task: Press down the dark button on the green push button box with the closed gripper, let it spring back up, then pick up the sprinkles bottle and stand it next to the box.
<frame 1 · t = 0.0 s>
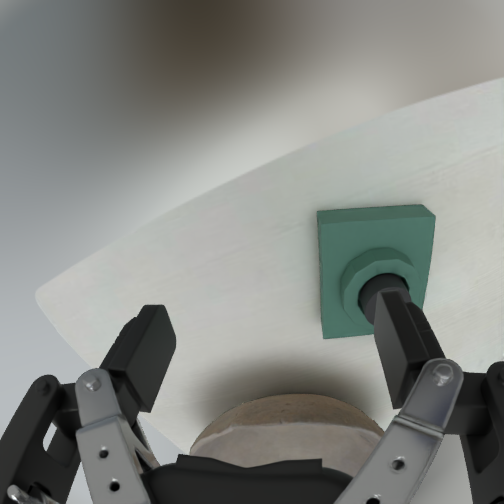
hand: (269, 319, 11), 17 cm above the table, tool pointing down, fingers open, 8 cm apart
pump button: (385, 300, 23), point 6 cm above the table, slide at 0.1 cm
bowl: (291, 414, 40), on the table
green push button box: (370, 266, 28), on the table
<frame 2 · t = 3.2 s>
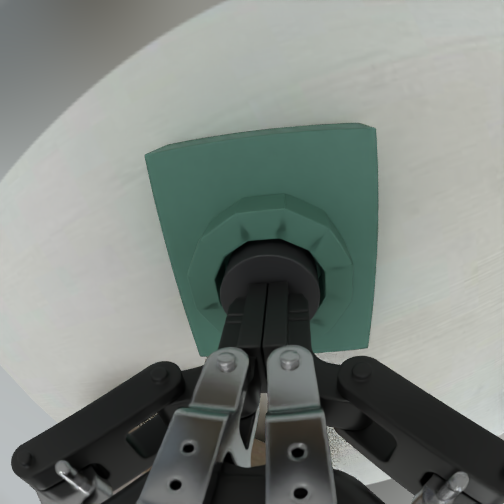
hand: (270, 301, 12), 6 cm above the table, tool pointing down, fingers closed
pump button: (270, 285, 13), point 5 cm above the table, slide at -0.8 cm, touching gripper
bowl: (212, 444, 29), on the table
green push button box: (274, 238, 17), on the table
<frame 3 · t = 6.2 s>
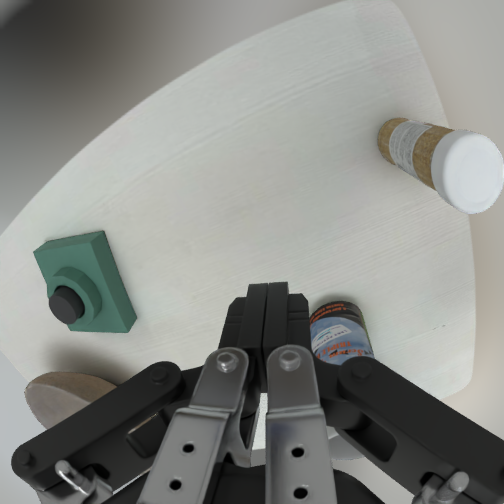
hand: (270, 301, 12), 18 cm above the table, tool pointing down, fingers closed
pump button: (66, 305, 30), point 6 cm above the table, slide at 0.1 cm
bowl: (110, 396, 47), on the table
green push button box: (89, 279, 35), on the table
mug: (349, 382, 39), on the table
beverage can: (336, 318, 34), on the table
sprinkles bottle: (398, 140, 25), on the table
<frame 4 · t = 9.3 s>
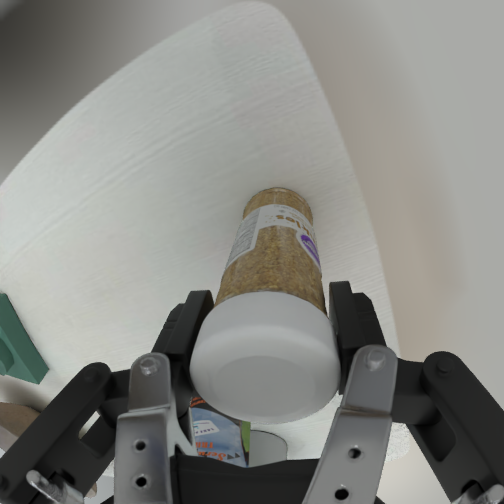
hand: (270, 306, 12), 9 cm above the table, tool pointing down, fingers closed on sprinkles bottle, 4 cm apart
bowl: (50, 423, 42), on the table
green push button box: (7, 331, 30), on the table
mug: (259, 449, 35), on the table
beverage can: (226, 399, 30), on the table
sprinkles bottle: (276, 218, 20), on the table, touching gripper
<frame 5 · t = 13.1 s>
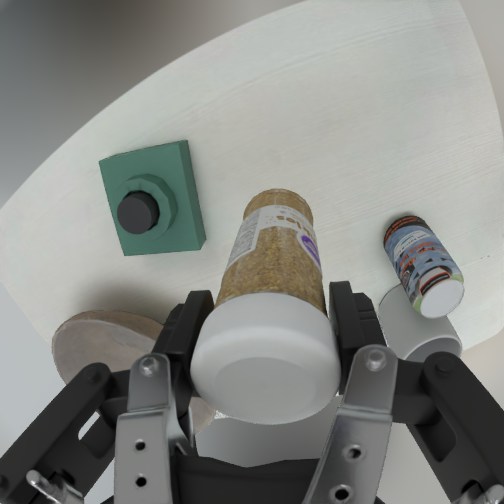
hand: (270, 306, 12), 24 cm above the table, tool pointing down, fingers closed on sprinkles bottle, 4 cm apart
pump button: (137, 212, 30), point 6 cm above the table, slide at 0.1 cm
bowl: (148, 346, 47), on the table
green push button box: (157, 196, 35), on the table
mug: (407, 314, 40), on the table
beverage can: (404, 238, 35), on the table
sprinkles bottle: (277, 218, 20), point 14 cm above the table, touching gripper
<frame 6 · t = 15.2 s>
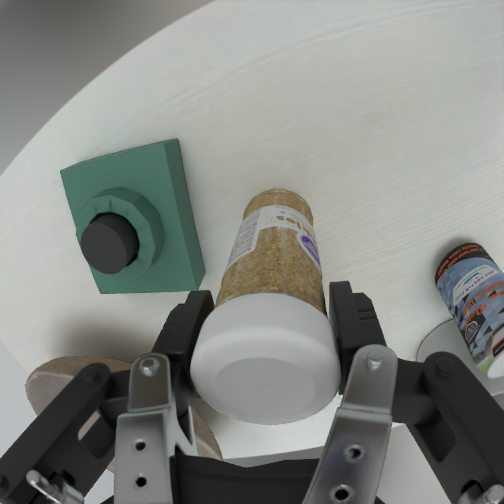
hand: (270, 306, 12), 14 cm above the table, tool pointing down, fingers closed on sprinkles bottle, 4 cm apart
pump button: (109, 243, 21), point 6 cm above the table, slide at 0.1 cm
bowl: (139, 388, 38), on the table
green push button box: (139, 216, 26), on the table
mug: (447, 353, 30), on the table
beverage can: (456, 269, 26), on the table
sprinkles bottle: (277, 218, 20), point 4 cm above the table, touching gripper
when the fingers open (9 cm above the table, at t = 16.7 s): sprinkles bottle stays where it is, on the table.
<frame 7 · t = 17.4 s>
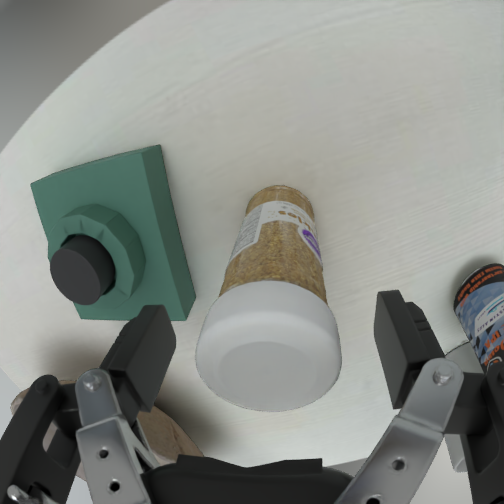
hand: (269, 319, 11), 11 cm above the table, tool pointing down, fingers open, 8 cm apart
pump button: (82, 270, 18), point 6 cm above the table, slide at 0.1 cm
bowl: (131, 410, 34), on the table
green push button box: (119, 234, 23), on the table
mug: (459, 376, 27), on the table
beverage can: (475, 290, 22), on the table
sprinkles bottle: (279, 215, 21), on the table
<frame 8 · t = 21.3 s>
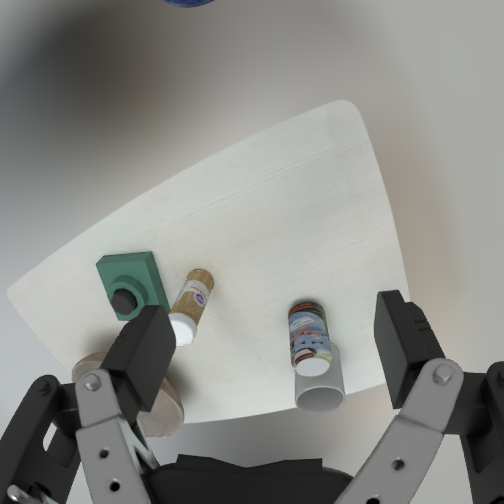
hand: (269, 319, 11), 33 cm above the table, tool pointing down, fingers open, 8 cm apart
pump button: (123, 302, 48), point 6 cm above the table, slide at 0.1 cm
bowl: (138, 372, 65), on the table
green push button box: (136, 283, 53), on the table
mug: (319, 360, 57), on the table
beverage can: (307, 313, 52), on the table
sprinkles bottle: (200, 279, 51), on the table
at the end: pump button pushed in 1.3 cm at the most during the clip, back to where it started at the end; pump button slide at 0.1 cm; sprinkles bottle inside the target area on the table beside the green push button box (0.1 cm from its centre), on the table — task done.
